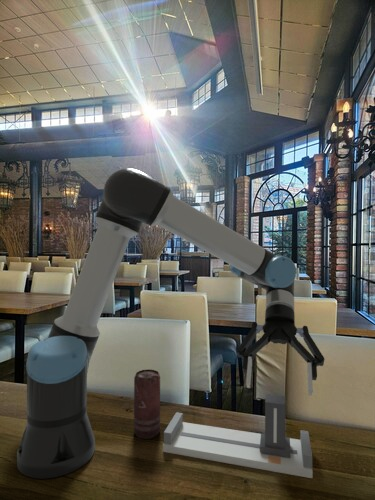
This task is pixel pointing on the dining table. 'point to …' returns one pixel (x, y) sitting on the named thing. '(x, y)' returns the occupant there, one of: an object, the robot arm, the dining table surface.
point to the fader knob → (275, 427)
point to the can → (147, 404)
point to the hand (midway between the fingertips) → (278, 389)
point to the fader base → (235, 447)
